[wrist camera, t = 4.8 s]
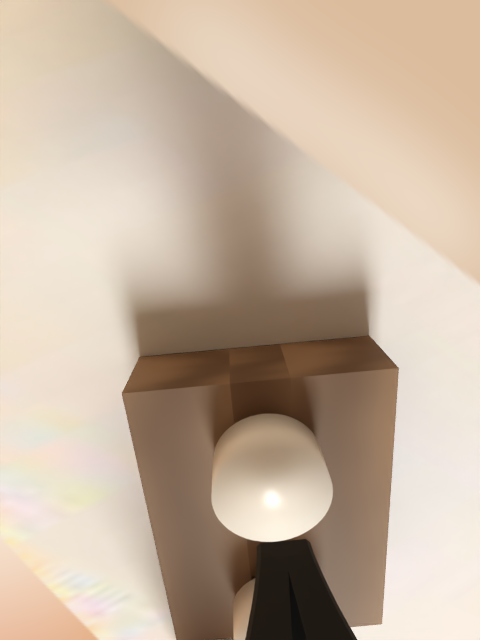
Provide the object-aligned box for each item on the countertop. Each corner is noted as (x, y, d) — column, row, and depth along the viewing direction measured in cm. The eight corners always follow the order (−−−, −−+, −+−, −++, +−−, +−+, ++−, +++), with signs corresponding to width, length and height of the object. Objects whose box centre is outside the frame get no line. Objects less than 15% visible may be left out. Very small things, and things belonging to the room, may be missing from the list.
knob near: (301, 365, 17) (332, 441, 12) (304, 440, 18) (332, 536, 13) (210, 373, 17) (204, 453, 12) (220, 447, 18) (218, 546, 13)
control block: (369, 335, 17) (398, 368, 14) (361, 565, 21) (382, 624, 19) (139, 356, 17) (121, 393, 14) (183, 582, 21) (177, 643, 19)
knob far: (306, 504, 20) (332, 613, 15) (308, 560, 21) (333, 676, 16) (228, 512, 20) (229, 622, 15) (235, 567, 21) (238, 685, 16)
